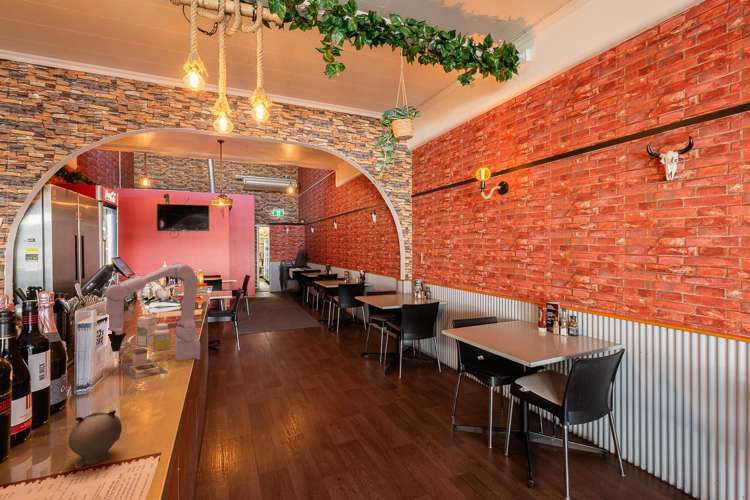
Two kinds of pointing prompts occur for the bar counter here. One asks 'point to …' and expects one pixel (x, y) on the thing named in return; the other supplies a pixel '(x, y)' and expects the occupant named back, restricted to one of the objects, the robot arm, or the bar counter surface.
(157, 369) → the frame
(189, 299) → the robot arm
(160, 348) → the supplement bottle
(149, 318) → the syrup box
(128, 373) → the mat
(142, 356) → the plug
